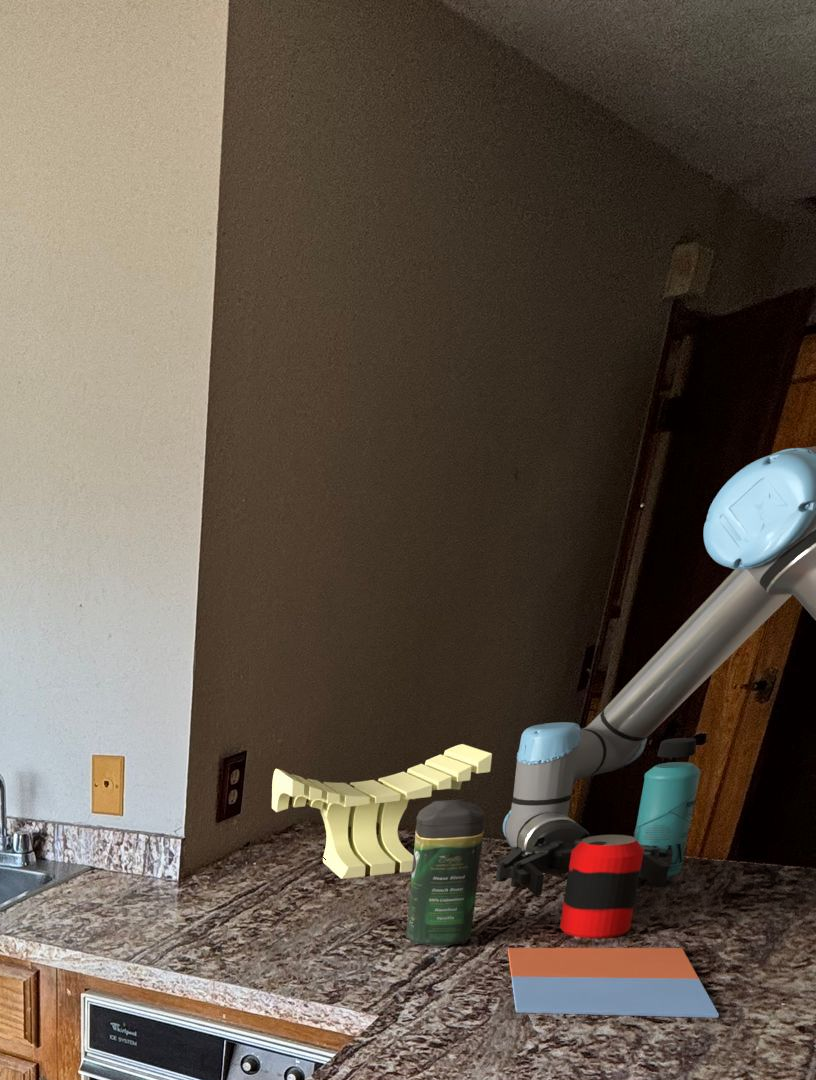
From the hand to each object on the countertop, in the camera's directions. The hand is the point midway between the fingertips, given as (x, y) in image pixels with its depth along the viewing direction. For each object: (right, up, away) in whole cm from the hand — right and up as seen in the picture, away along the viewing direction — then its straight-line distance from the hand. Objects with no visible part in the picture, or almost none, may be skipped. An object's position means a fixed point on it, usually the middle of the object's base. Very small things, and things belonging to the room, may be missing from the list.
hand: (600, 881), depth 130 cm
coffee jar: (-16, -6, +9) cm, 19 cm away
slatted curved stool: (-6, +13, +47) cm, 49 cm away
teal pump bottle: (+20, +3, +16) cm, 25 cm away
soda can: (+1, -6, +2) cm, 7 cm away
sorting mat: (-9, -15, -12) cm, 21 cm away
